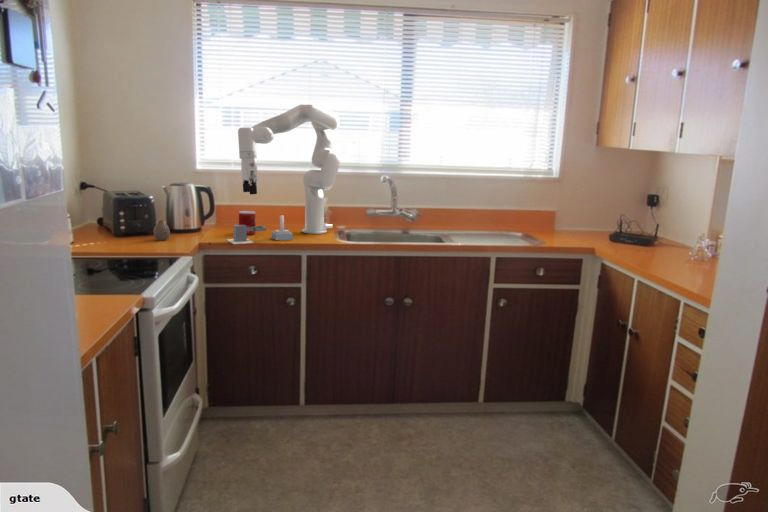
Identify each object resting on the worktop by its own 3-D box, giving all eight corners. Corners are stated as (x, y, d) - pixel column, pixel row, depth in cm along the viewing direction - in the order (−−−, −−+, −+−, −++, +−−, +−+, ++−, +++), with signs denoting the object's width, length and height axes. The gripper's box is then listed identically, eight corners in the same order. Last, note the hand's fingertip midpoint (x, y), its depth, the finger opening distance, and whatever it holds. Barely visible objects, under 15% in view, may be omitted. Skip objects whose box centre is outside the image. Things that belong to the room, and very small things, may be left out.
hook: (236, 241, 249) (235, 226, 247) (233, 240, 253) (232, 224, 252) (266, 240, 256) (266, 225, 254) (263, 238, 260) (262, 223, 259)
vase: (150, 240, 249) (149, 220, 247) (162, 238, 255) (161, 219, 253) (161, 241, 246) (160, 222, 244) (173, 239, 252) (172, 220, 250)
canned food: (253, 235, 269) (253, 213, 267) (237, 234, 269) (236, 212, 267) (257, 232, 276) (257, 211, 274) (241, 232, 276) (241, 210, 274)
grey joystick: (287, 237, 267) (287, 214, 265) (292, 239, 261) (292, 216, 259) (271, 238, 263) (271, 215, 261) (276, 240, 257) (276, 217, 255)
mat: (246, 238, 259) (246, 238, 259) (253, 243, 250) (253, 242, 250) (227, 240, 255) (227, 239, 254) (233, 244, 245) (233, 243, 245)
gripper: (262, 156, 245) (264, 194, 249) (250, 154, 260) (252, 190, 264) (245, 156, 242) (247, 195, 246) (234, 154, 256) (236, 191, 260)
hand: (250, 193), depth 255 cm, fingers open, 9 cm apart
